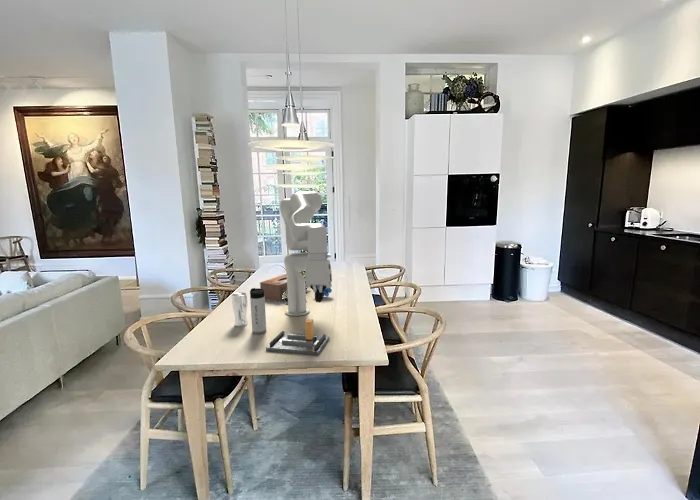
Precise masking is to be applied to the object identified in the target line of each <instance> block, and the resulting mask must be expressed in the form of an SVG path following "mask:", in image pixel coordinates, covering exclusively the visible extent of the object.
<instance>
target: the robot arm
mask: <svg viewBox="0 0 700 500" xmlns="http://www.w3.org/2000/svg"><path fill="white" fill-rule="evenodd" d="M322 202H323V200H322V197H321V194H320V193H319V192H316V191H297V192H294V193H292V195H290V198H283V199H282V200H280V203H279V210H280V214H281V217H282V218H283V219H282V220H283V223H284V228H285V244H286V248H287V250H289V251H291V252H292V251H294V253H289V254H287V255H286V256H284V260H283V261H284V268H285V274H286V275H287V293H288V298H287V309H285V311H284V312H285V314H286V315H287V316H290V317H291V316H292V317H299V316H305V315H308V314H309V313H310V308H309V307H307V304H308V301H307V292H306V291H307V288H310V289H311V290H312V292H313V293H314V300H315V303H321V302H322V301H323V300H324V296H323V291H324V290H325V289H326V288H331V289H332V287H333V285H332V282H333V274H332V266H331V260H330V258H331V257H332V256H331V254H330V253H328V239H327V238H328V237H327V234H328V233H327V227H326V226H325V225H324V224H323V223H321V222H315V223H309V222H310V221H312V219H313V218H314V216H315V214H316V213H317V212H319V211H320V209H321V208H322V204H323V203H322ZM295 251H307V252H295ZM301 272H305V275H304V276H305V278H304V276H303V274H302V273H301ZM305 281H306V284H305ZM318 285H320V288H319V289H318Z"/></svg>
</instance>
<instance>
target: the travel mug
mask: <svg viewBox="0 0 700 500" xmlns="http://www.w3.org/2000/svg"><path fill="white" fill-rule="evenodd" d="M249 294H250V298H249V299H250V316H251V318H250V319H251V331H252V334H254V335H262V334H264V333H266V332H267V319H266V318H267V316H266V299H265V298H264V290H263V289H260V288H258V287H252V288H250V290H249Z"/></svg>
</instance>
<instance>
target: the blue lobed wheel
mask: <svg viewBox="0 0 700 500" xmlns="http://www.w3.org/2000/svg"><path fill="white" fill-rule="evenodd" d="M319 288H320V285H318V289H319ZM332 292H333V291H332V287H331V288H326V289H325V290H324V291H323V297H329V295H330V294H331V293H332Z"/></svg>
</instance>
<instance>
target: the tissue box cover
mask: <svg viewBox="0 0 700 500" xmlns="http://www.w3.org/2000/svg"><path fill="white" fill-rule="evenodd" d="M259 286H260V288H259V289H263V290H264V298H265V300H268V299H269V301H274V300H275V302H279V301H280V302H282V301H283V300H282V295H283V293H284V292H285V291H286V290H287V275H286V273H284V274H282V275H279V276H275V277H272V278H269V279H266V280H263V281H261V282H259ZM281 300H282V301H281Z"/></svg>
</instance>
